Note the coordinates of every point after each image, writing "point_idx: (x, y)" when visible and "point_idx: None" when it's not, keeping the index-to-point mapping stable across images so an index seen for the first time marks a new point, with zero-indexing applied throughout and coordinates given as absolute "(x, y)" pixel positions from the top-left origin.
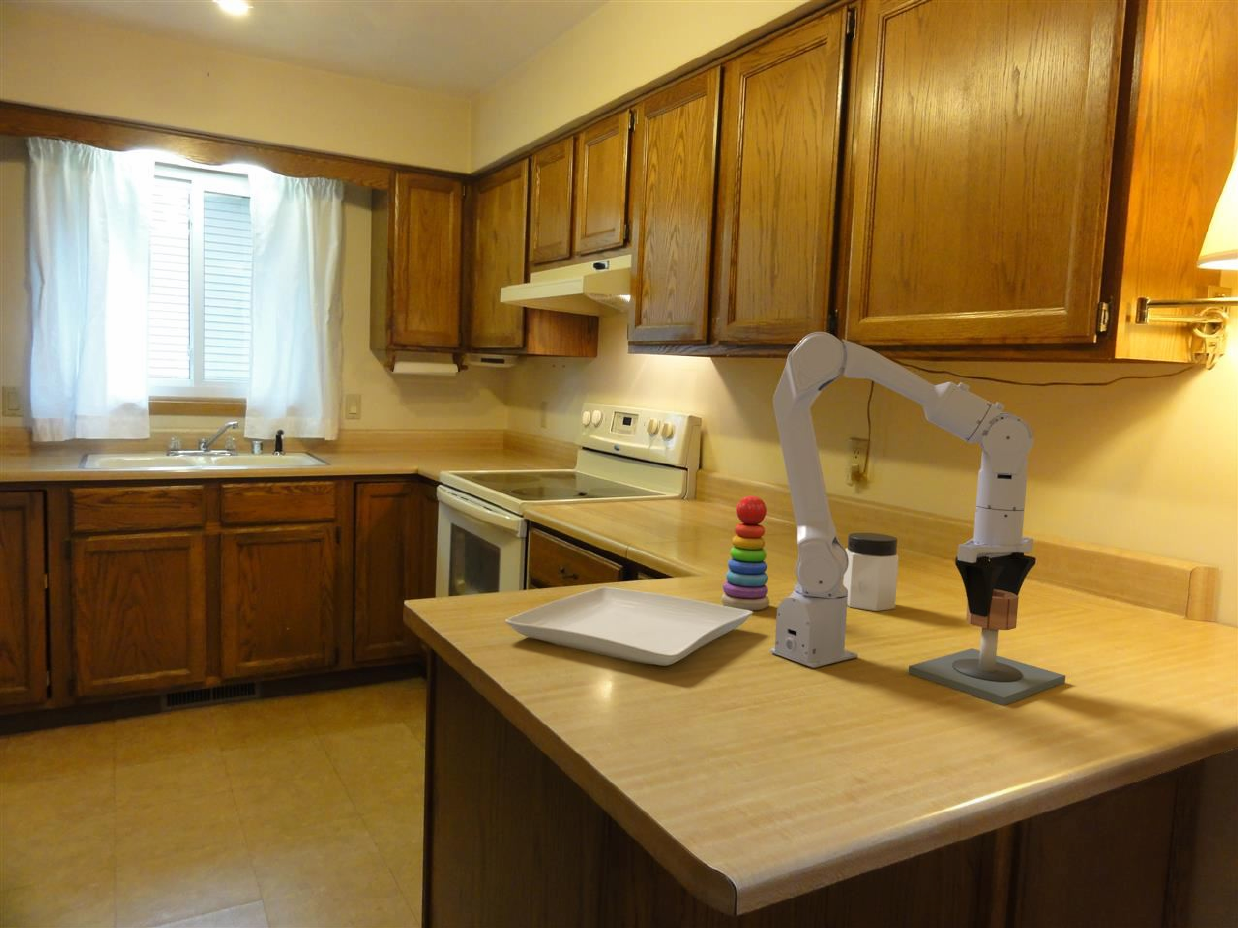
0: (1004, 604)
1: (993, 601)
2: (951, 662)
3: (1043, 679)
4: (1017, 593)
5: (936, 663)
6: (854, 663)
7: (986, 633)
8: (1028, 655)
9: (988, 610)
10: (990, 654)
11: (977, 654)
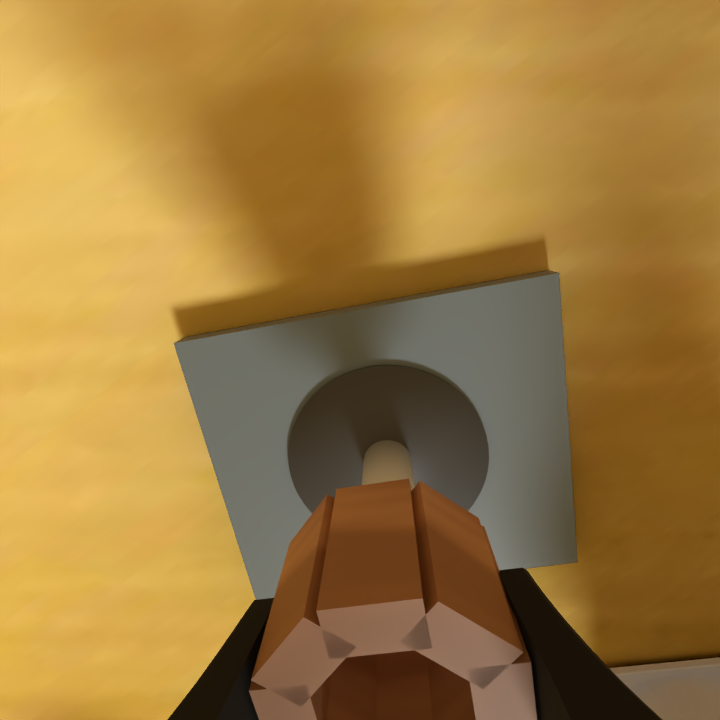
0: (449, 581)
1: (504, 626)
2: None
3: (280, 342)
4: (220, 672)
5: None
6: (635, 642)
7: None
8: (94, 531)
9: (516, 588)
10: (404, 472)
11: None
